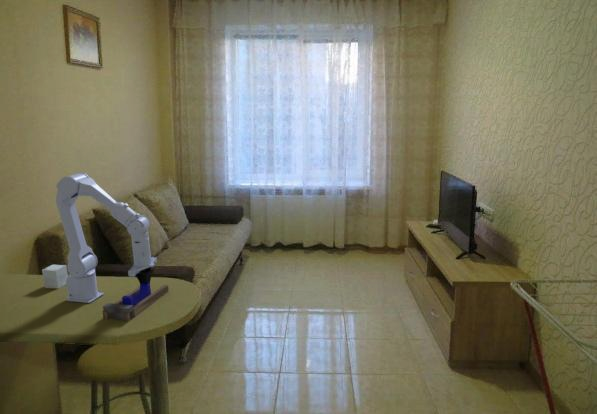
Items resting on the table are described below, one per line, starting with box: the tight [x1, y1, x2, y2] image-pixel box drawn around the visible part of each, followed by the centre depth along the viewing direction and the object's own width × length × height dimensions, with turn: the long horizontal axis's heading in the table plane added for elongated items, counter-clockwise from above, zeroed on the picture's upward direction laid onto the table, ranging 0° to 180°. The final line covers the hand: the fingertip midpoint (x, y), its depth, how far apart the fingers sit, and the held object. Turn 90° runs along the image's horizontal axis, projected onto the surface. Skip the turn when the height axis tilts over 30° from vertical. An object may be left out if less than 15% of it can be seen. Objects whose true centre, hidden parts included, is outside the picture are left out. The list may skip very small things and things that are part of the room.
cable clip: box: [121, 283, 152, 306], centre depth 155 cm, size 12×4×6 cm, turn 167°
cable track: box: [101, 284, 169, 322], centre depth 158 cm, size 9×24×4 cm, turn 165°
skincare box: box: [41, 264, 69, 290], centre depth 176 cm, size 6×6×7 cm
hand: (145, 288), depth 162 cm, fingers closed
